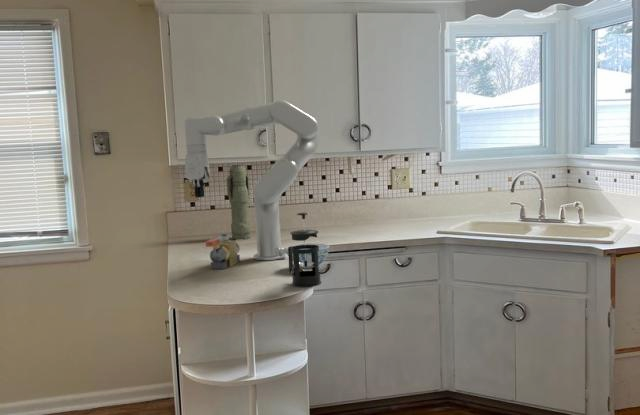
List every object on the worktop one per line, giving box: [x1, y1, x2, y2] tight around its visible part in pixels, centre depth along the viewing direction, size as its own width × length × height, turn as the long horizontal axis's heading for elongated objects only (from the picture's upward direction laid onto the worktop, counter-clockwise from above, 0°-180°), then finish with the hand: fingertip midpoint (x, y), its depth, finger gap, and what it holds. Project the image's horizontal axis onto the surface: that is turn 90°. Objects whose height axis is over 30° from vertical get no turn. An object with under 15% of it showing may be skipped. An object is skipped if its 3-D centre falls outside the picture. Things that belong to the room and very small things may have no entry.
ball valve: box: [209, 239, 241, 270], centre depth 244 cm, size 7×16×9 cm, turn 164°
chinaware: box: [287, 242, 330, 271], centre depth 232 cm, size 15×15×8 cm
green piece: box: [226, 164, 251, 240], centre depth 307 cm, size 9×12×35 cm
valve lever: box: [205, 233, 230, 248], centre depth 238 cm, size 15×4×2 cm, turn 165°
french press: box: [287, 212, 322, 288], centre depth 206 cm, size 12×9×23 cm
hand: (199, 196), depth 250 cm, fingers closed
